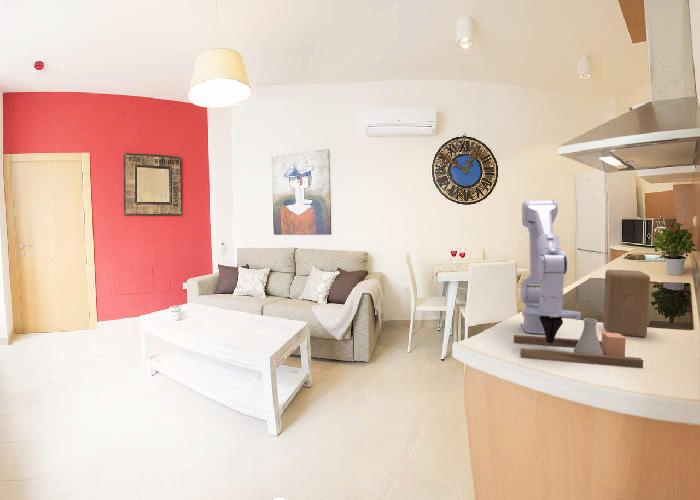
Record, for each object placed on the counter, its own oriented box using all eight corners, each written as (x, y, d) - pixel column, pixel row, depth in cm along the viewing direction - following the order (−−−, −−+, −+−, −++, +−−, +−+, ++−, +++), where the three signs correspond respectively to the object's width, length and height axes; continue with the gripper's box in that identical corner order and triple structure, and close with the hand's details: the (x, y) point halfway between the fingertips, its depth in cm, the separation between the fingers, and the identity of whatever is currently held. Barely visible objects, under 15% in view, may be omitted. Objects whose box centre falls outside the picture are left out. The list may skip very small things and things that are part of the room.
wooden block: (607, 334, 112) (610, 273, 110) (602, 325, 121) (605, 269, 119) (647, 338, 107) (651, 275, 105) (638, 329, 116) (642, 270, 114)
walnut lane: (513, 341, 108) (513, 334, 108) (619, 348, 100) (619, 342, 100) (521, 357, 95) (521, 350, 95) (642, 367, 87) (643, 360, 87)
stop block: (601, 352, 97) (602, 332, 97) (617, 354, 96) (618, 333, 96) (607, 358, 94) (608, 336, 93) (624, 359, 92) (625, 338, 92)
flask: (575, 347, 101) (576, 314, 100) (605, 353, 97) (607, 318, 96) (571, 355, 96) (572, 320, 95) (603, 362, 91) (605, 325, 90)
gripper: (526, 298, 96) (524, 344, 98) (585, 300, 92) (583, 349, 94) (521, 292, 103) (520, 336, 105) (576, 294, 99) (574, 340, 100)
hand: (549, 341), depth 100 cm, fingers closed
